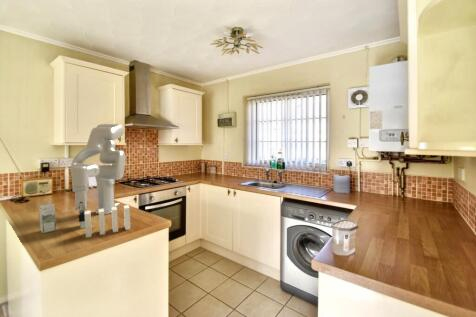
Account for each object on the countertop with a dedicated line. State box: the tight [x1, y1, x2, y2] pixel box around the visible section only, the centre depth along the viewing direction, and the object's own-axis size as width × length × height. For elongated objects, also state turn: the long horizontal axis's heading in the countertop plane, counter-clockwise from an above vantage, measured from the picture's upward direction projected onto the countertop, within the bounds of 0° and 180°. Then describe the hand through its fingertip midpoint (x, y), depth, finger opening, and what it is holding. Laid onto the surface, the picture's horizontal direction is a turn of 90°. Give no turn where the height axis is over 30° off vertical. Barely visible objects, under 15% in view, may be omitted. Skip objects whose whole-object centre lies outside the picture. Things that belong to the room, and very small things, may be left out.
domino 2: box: [98, 209, 106, 236], centre depth 121 cm, size 2×6×12 cm, turn 32°
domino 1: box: [84, 209, 93, 239], centre depth 118 cm, size 2×6×12 cm, turn 32°
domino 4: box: [123, 204, 131, 231], centre depth 127 cm, size 2×6×12 cm, turn 32°
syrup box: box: [38, 202, 57, 234], centre depth 123 cm, size 6×6×14 cm
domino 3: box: [111, 206, 119, 233], centre depth 124 cm, size 2×6×12 cm, turn 32°
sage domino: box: [79, 207, 85, 229], centre depth 129 cm, size 2×6×12 cm, turn 32°
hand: (82, 219), depth 129 cm, fingers closed on sage domino, 5 cm apart
